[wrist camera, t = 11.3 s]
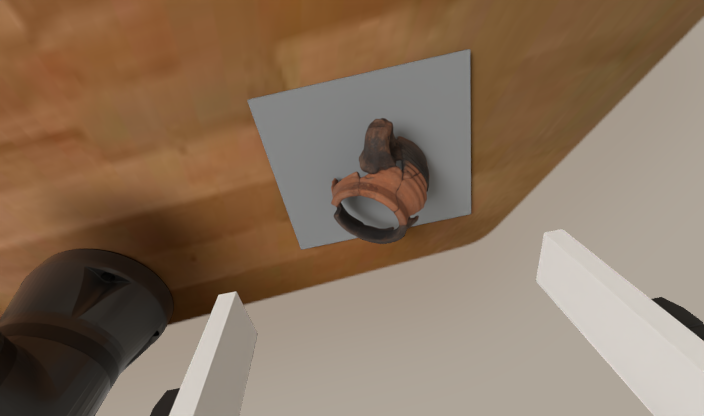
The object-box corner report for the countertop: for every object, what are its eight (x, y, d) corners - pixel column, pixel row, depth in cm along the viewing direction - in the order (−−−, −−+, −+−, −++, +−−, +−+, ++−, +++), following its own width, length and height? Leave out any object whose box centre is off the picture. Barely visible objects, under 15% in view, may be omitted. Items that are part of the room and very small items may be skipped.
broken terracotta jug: (435, 195, 34) (422, 256, 28) (356, 189, 37) (332, 242, 32) (433, 92, 25) (414, 153, 20) (332, 97, 29) (293, 149, 24)
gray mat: (301, 246, 36) (301, 249, 35) (248, 99, 27) (247, 100, 27) (468, 211, 35) (471, 214, 34) (467, 49, 27) (470, 49, 26)
